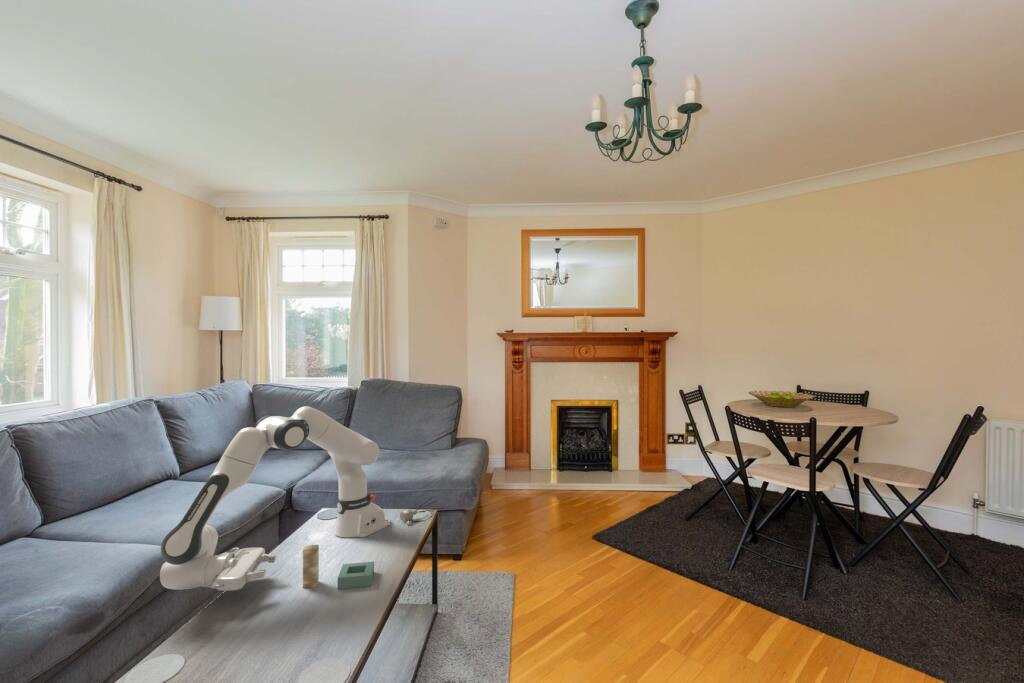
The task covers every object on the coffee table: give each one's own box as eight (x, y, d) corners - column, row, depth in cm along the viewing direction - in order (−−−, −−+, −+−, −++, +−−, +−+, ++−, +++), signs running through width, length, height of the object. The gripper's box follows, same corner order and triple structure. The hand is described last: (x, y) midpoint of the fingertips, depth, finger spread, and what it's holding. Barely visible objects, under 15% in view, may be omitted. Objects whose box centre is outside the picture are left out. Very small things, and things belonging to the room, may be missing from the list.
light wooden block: (302, 587, 141) (302, 549, 141) (305, 582, 144) (305, 545, 144) (316, 586, 142) (316, 548, 142) (318, 581, 145) (318, 544, 145)
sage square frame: (337, 589, 140) (337, 578, 140) (342, 574, 149) (342, 564, 149) (370, 585, 142) (370, 575, 142) (373, 571, 151) (373, 561, 151)
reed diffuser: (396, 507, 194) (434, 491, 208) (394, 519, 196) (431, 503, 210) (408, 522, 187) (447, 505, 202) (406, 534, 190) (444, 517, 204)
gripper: (205, 577, 128) (257, 572, 130) (235, 545, 148) (280, 541, 151) (205, 599, 128) (257, 594, 130) (235, 564, 148) (280, 560, 151)
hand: (270, 565), depth 141 cm, fingers open, 8 cm apart
